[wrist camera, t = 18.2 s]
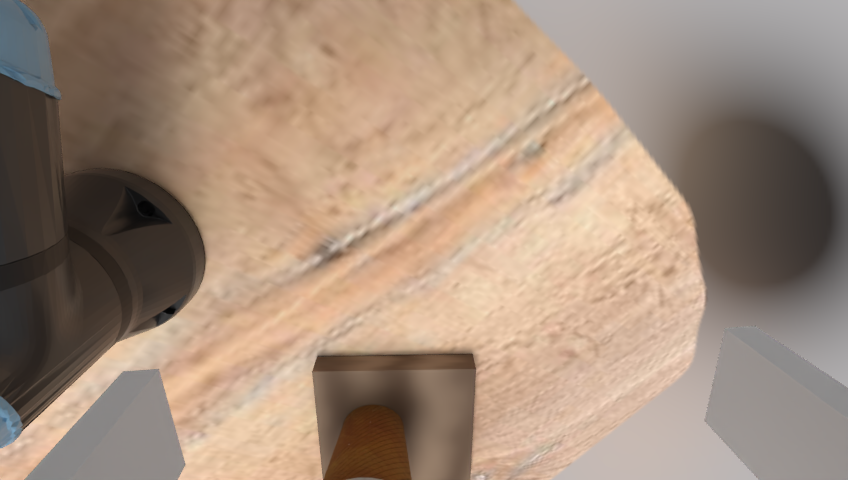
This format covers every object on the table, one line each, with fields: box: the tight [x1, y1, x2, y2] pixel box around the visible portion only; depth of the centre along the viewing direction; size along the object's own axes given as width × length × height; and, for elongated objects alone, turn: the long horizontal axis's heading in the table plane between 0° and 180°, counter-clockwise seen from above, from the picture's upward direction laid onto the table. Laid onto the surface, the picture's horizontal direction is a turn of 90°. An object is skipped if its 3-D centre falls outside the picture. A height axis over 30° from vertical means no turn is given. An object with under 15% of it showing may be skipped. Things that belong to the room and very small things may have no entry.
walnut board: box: [312, 354, 476, 480], centre depth 48 cm, size 16×16×2 cm
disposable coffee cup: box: [323, 405, 412, 480], centre depth 41 cm, size 10×10×12 cm
